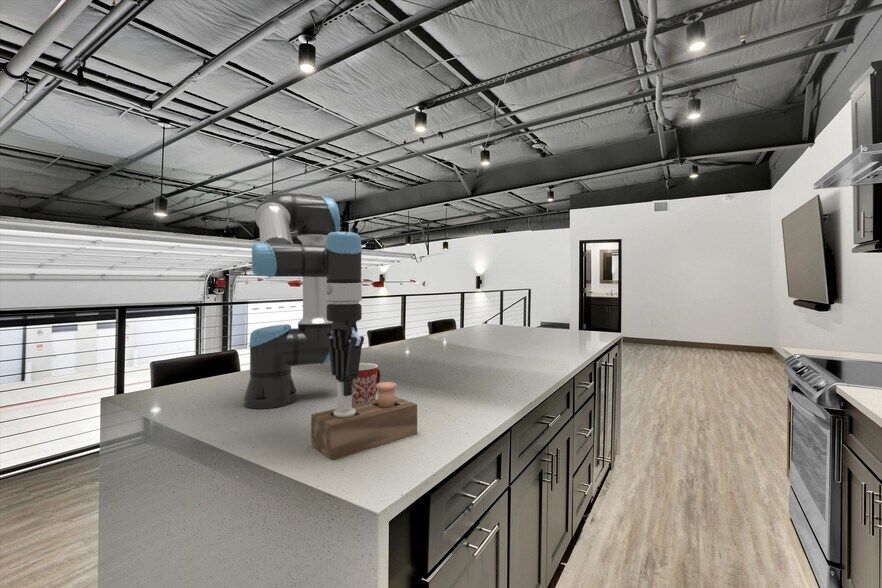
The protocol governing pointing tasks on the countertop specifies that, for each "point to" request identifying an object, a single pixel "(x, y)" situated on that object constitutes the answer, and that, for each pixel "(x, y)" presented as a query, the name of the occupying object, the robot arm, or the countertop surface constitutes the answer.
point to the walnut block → (362, 427)
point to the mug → (365, 383)
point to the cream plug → (344, 413)
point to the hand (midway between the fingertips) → (344, 409)
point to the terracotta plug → (386, 394)
